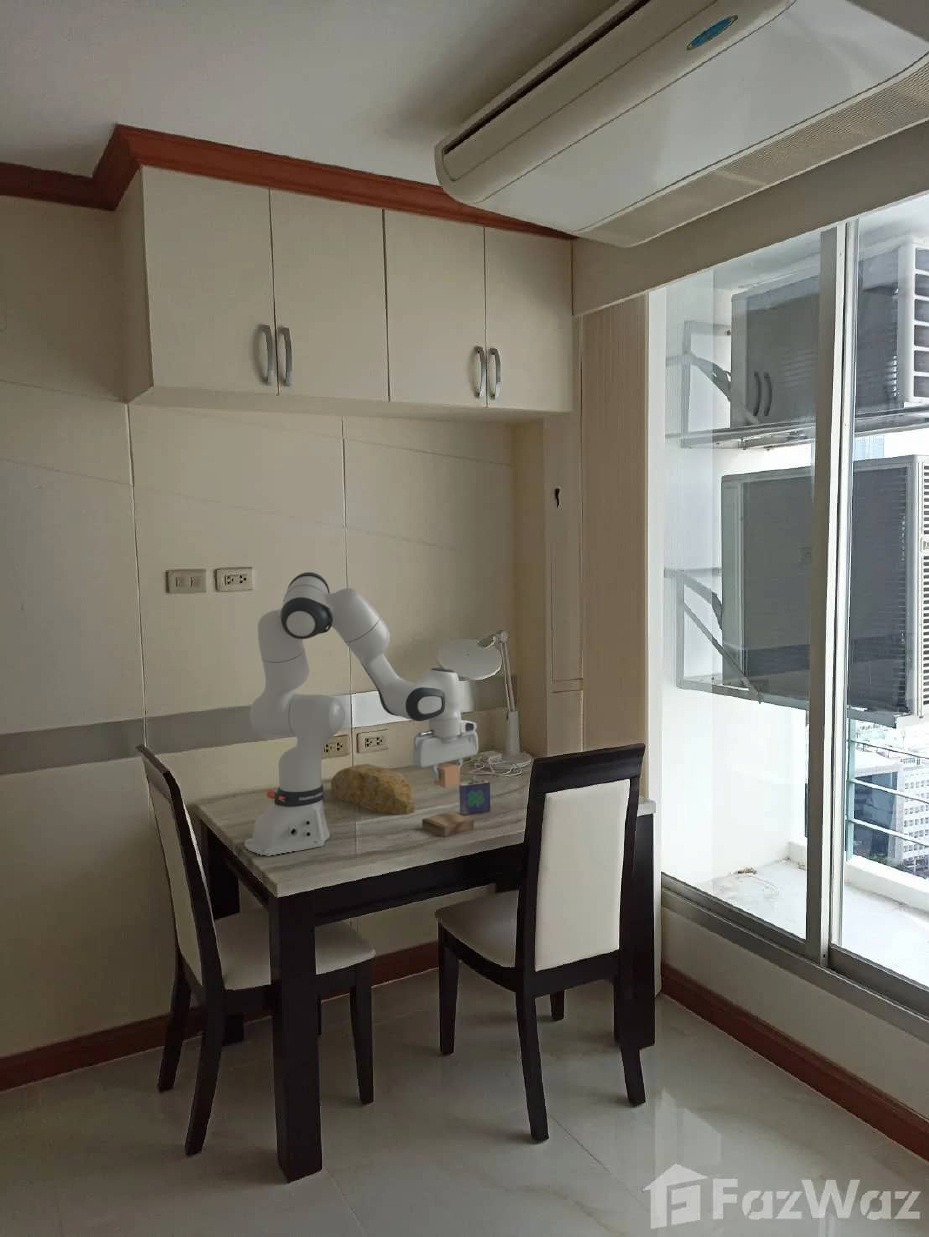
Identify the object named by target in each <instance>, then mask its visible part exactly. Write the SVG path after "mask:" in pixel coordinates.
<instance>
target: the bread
mask: <svg viewBox="0 0 929 1237" xmlns="http://www.w3.org/2000/svg"><path fill="white" fill-rule="evenodd" d="M330 786H331V787H330V789H331V793H332V795H333V794H334V795H335V796H334V795H333V796H334V797H335V798H337V799H338V800H340V799H341V801H343V800H344V801H343V802H346V803H349V804H352V805H356V806H359V807H362V808H366V809H368V810H372V811H375V812H377V813H380V814H387V815H392V816H393V815H394V816H405V815H410V814H413V813H415V810H416V809H415V807H416V806H415V804H416V803H415V791H414V790H413V787H412V786H411V784H410V783H409V781H408V779H406V778H405V776H404V775H402V774H401V773H400V772H399V771H396V770H392V769H388V768H385V767H381V766H377V765H373V764H369V763H363V764H357V765H353V766H349V767H345V768H343V769H341V770H339V771H337V773H335V774H334V776H333V777H332V778H331V780H330Z"/></svg>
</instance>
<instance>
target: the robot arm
mask: <svg viewBox="0 0 929 1237" xmlns="http://www.w3.org/2000/svg"><path fill="white" fill-rule="evenodd" d="M331 628H333V629H334V630H335V631H336V633H338V635H339V636H340V638H341V639H342V640H343V642H344V643H345V644H346V645H347V647H348V648H349V650H351V653H353V654H354V655H355V657H356V658H357V659H358V661H359V663H360V664H361V666H362V667H363V669H364V670H365V673H367V675H368V677H369V678H370V679H371V681H372V683H373V684H374V686H375V687H376V690H377V692H378V696H379V697H378V698H379V701H380V704H381V706H382V708H383V710H384V712H386V713H388V714H389V715H390V716H391V715H392V716H395V717H402V718H405V719H407V720H411V721H415V722H424V721H428V730H425V731H423V732H422V731H419V732H418V733H417V735H415V736H414V737H413V749H412V764H413V765H414V767H416V768H421V769H424V768H427V767H428V768H429V770H430V771H431V772H432V778H433V781H434V780H440V779H441V773H439V772H438V771H437V769H436V768H438V765H440V764H444V763H450V762H453V761H454V762H455V763H454V764H455V765H458V766H459V771H460V772H461V767H462V765H463V763H464V759H465V758H469V757H473V756H476V755H477V753H478V752H479V737H478V733H477V731H476V730H477V723H476V722H473V721H471V720H467V719H464V718H463V719H462V713H461V710H460V709H461V708H460V703H461V686H460V684H461V683H460V679H459V676H458V673H457V672H456V671H454V670H453V669H448V668H443V667H432V668H430V669H429V670H428V672H427V673H426V674H425V675H424V676H423V677H422V678H420V679H419V680H417V681H415V682H412V681H409V680H407V679H404V678H402V677H400V676H399V675H397V673H396V672H395V670H394V669H393V667H392V664H390V662H389V661H388V658H386V656H385V652H386V650H387V649H388V647H389V645H390V641H391V633H390V630H389V629H388V626H387V624H386V623H385V622H384V620H383V619H382V617H381V616H380V614H379V613H378V612H377V610H376V609H375V607H374V606H372V604H371V603H370V602H369V601H368V600H367V599H366V598H365V597H364V596H363V594H361V593H360V592H359V591H358V590H356V589H355V588H353V587H352V588H350V587H347V588H342V589H339V590H337V591H336V592H330V587H329V585H328V583H327V581H326V580H325V578H324V577H322V575H320V574H318V573H316V572H309V571H306V572H302V573H300V574H298V575H297V576H296V577H294V578H293V579H292V580H291V581H290V583H289V584H288V587H287V590H286V593H285V594H284V597H283V603H282V607H280V608H279V609H277V610H276V609H275V610H271V611H268V612H266V613H265V614H263V615H262V616H261V617H260V619H259V621H258V623H257V635H258V637H257V638H258V648H259V652H260V657H261V660H262V661H261V662H262V665H263V670H264V675H265V685H264V686H265V687H264V690H263V691H262V693H261V694H260V695H259V696H258V697H257V698H255V700H254V702H252V704H251V707H250V711H249V720H250V723H251V725H252V727H253V729H255V731H256V732H260V733H262V734H266V735H270V736H289V737H291V736H292V737H297V738H296V740H297V741H296V745H295V746H294V747H292V748H290V749H288V750H286V751H285V752H283V753H282V755H281V756H280V758H279V760H278V781H279V782H278V783H279V786H278V788H277V790H276V791H273V790H271V789H269V790H267V792H266V794H265V795H266V797H267V798H268V799H271V800H273V799H274V800H273V804H271V805H270V806H269V807H268V808H267V809H266V811H264V812H263V813H262V814H261V816H260V817H258V818H257V819H256V820H255V822H254V824H253V831H252V837H250V838H247V839H245V841H244V848H245V847H246V848H245V849H246V850H247V849H248V850H247V851H249V852H251V851H252V852H251V853H253V852H255V853H257V854H256V855H258V854H260V855H259V856H262V855H266V856H265V857H272V856H271V855H274V856H277V855H276V854H280V855H282V854H281V853H285V854H287V853H286V852H290V853H293V852H292V851H295V852H298V851H299V852H300V851H303V850H309V849H314V848H319V847H323V846H325V842H326V841H327V840H328V839H329V838H330V836H331V834H330V831H329V827H328V825H327V821H326V816H325V809H324V802H325V800H324V799H325V792H324V784H323V783H322V759H323V758H322V757H323V753H324V751H325V750H324V749H325V748H326V746H327V744H328V742H329V741H330V740H331V739H332V738H333V737H334V736H335V735H336V734H338V732H340V731H341V729H342V727H343V726H344V723H345V719H346V712H345V708H344V705H343V704H342V702H341V701H340V699H339V698H337V697H333V696H328V695H325V694H299V693H296V692H295V689H298V688H299V687H301V686H302V685H303V684H304V683H305V682H306V681H307V679H308V677H309V674H310V667H309V663H308V659H307V654H306V649H305V644H304V640H307V639H311V638H314V637H315V636H317V635H321V634H324V633H327V632H329V630H330V629H331ZM255 853H254V854H255Z"/></svg>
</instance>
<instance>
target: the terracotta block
mask: <svg viewBox="0 0 929 1237" xmlns="http://www.w3.org/2000/svg"><path fill="white" fill-rule="evenodd" d="M436 769H437V771H438V772H439V773H441V779H440V780H434V779H433V784H434V785H436V786H439V787H442V788H445V789H446V788H451V787H453V786H459V785H460V784H461V779H460V778H461V777H460V776H461V775H460V774H461V770H460V771H459V766H458V765H455V763H451V762H445V763H441V764H438V768H436Z"/></svg>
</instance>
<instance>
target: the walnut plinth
mask: <svg viewBox="0 0 929 1237" xmlns="http://www.w3.org/2000/svg"><path fill="white" fill-rule="evenodd" d="M474 820H475V819H473V818H471V817H468V816H465V815H460V813H457V812H454V811H452V810H451V811H450V810H449V811H447V812H443V813H440V814H436V815H432V816H429V817H425V818H422V819H421V821H422V822H421V824H422V825H421V828H422V829H424V830H426V831H429V832H432V833H435V834H437V835H439V836H441V837H444V838H445V837H450V836H453V835H456V834H459V833H462V832H466V831H469V830H472V829H474V827H475V826H474Z"/></svg>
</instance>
